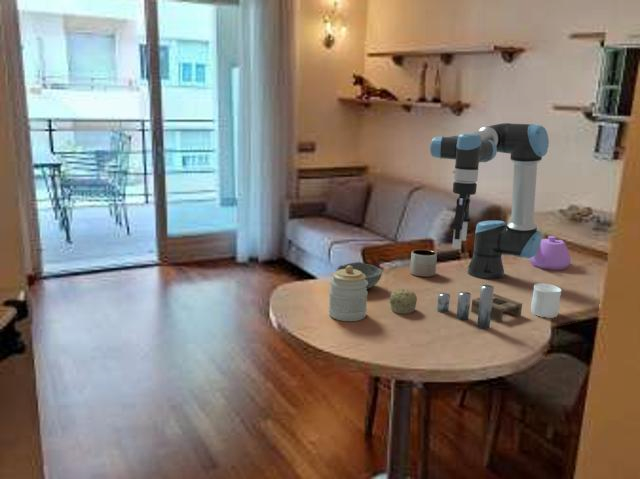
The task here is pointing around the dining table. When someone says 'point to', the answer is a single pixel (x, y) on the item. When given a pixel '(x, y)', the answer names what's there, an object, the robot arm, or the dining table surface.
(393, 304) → the decorative item
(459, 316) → the medium pin
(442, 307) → the short pin
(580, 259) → the dining table surface
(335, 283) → the jar
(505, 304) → the block
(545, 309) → the cup
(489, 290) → the long pin
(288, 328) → the dining table surface
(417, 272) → the planter
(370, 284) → the bowl
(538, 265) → the teapot
